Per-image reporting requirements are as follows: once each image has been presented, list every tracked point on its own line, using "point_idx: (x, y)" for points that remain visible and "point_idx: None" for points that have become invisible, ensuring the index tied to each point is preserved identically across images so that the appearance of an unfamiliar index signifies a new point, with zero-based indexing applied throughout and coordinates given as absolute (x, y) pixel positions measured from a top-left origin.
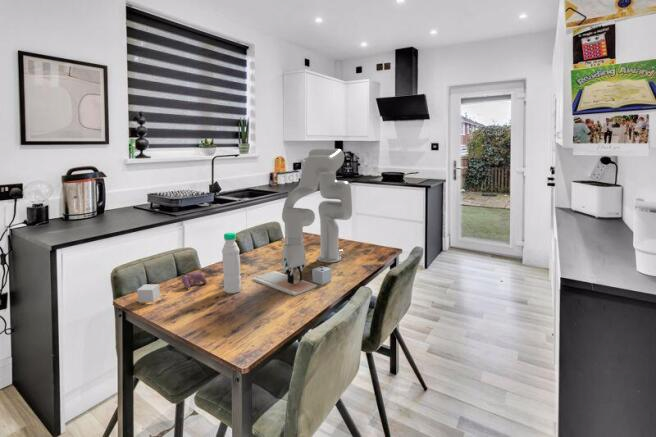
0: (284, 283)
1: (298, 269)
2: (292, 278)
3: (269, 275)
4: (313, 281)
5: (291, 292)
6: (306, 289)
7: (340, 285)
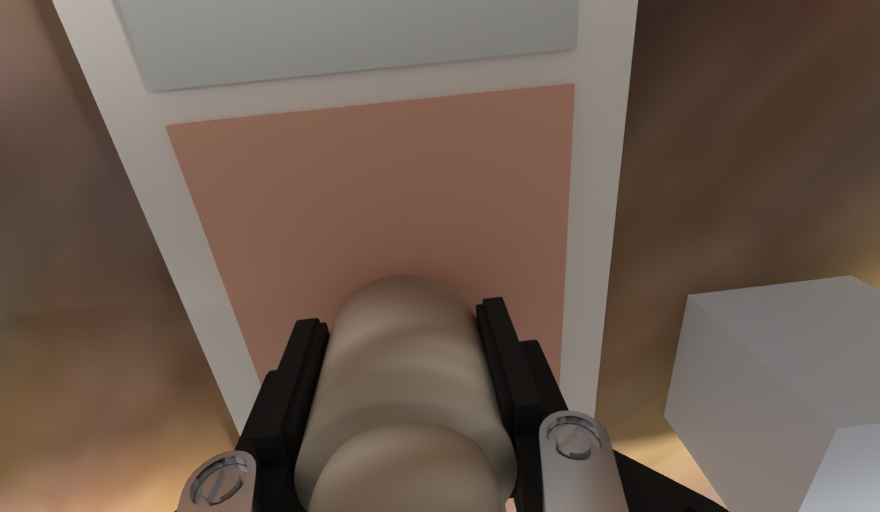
0: (309, 198)
1: (541, 498)
2: None
3: None
4: (690, 311)
5: None
6: None
7: None
